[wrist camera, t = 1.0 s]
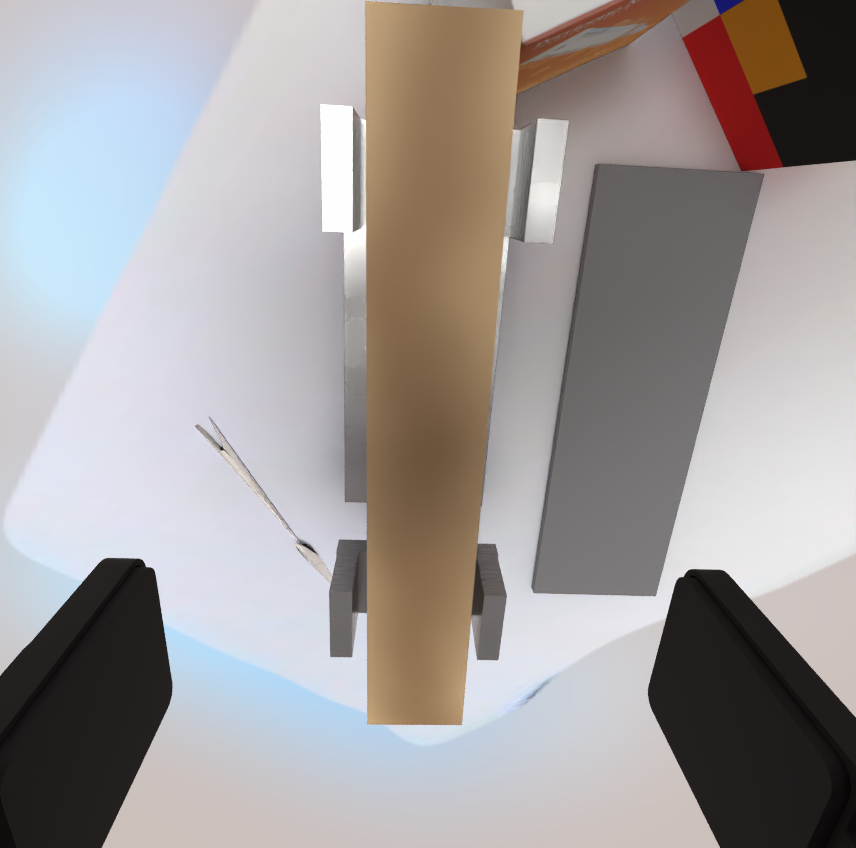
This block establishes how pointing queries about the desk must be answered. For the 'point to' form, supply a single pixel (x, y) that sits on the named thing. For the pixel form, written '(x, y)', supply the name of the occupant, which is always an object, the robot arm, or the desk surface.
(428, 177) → the rail
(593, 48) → the small box
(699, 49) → the puzzle toy
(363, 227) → the rack
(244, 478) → the silver long thin piece
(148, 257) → the desk surface
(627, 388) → the mat
